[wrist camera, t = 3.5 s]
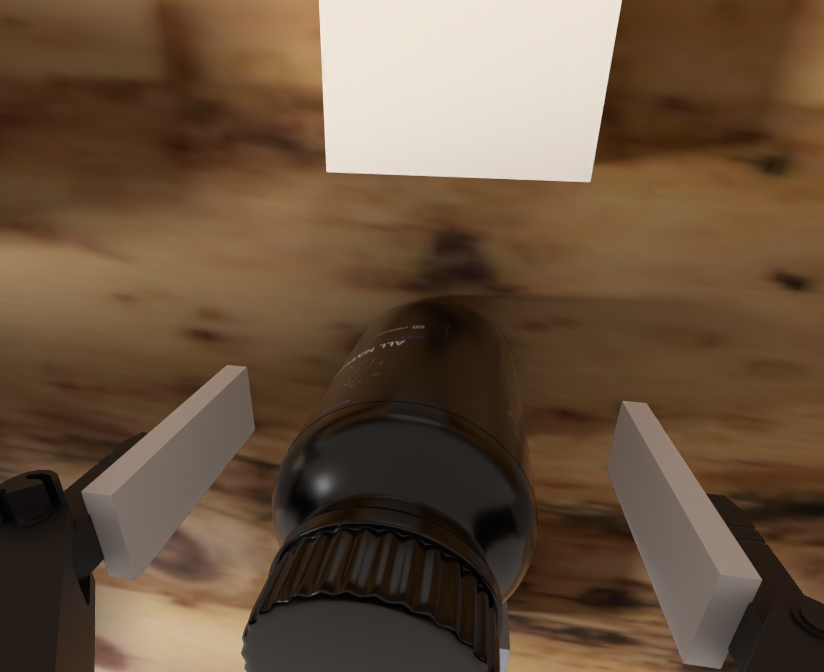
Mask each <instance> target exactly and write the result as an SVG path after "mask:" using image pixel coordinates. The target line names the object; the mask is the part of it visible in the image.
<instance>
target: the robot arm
mask: <svg viewBox="0 0 824 672" xmlns="http://www.w3.org/2000/svg"><path fill="white" fill-rule="evenodd" d="M254 431H255V425H254V418H253V410H252V402H251V395H250V387H249V379H248V371H247V367H244V366H233V365H226V366H225V367H224V368H223V369H222V370H221V371H220V372H218V373H217V374H216V375H215V376H214V377H213V378H211V379H210V380H209V381H208V382H207V383H206V384H205V385H203V386H202V387H201V388H200V389H199V390H198V391H196V392H195V393H194V394H193V395H192V396H191V397H190V398H188V399H187V400H186V401H185V402H184V403H183V404H181V405H180V406H179V407H178V408H177V409H176V410H175V411H173V412H172V413H171V414H170V415H169V416H168V417H166V418H165V419H164V420H163V421H162V422H161V423H160V424H158V425H157V426H156V427H155V428H154V429H153V430H151V431H150V432H149V433H145V432H142V433H140V434H138V435H136V436H134V437H132V438H130V439H128V440H126V441H124V442H123V443H122V444H120V445H119V446H118V447H117V448H116V449H114V450H113V451H112V452H111V453H110V455H107V456H106V457H105V458H104V459H102V460H101V461H100V462H99V464H98V465H95V466H94V467H93V468H92V469H90V470H89V471H88V472H87V473H86V474H84V475H83V476H82V477H81V478H80V479H78V480H77V481H76V482H75V483H74V484H72V485H71V486H70V487H69V488H68V489H66V490H65V491H63V489H62V486H61V483H60V480H59V477H58V474H57V473H55V472H53V471H51V470H37V471H31V472H26V473H24V474H21V475H18V476H15V477H13V478H11V479H9V480H7V481H5V482H3V483H1V484H0V672H94V658H95V580H94V577H93V574H92V571H93V570H94V569H95V568H96V567H97V566H98V565H99V564H100V563H101V561H102V560H103V559H104V562H105V565H106V568H107V571H108V574H109V576H112V577H118V578H125V579H132V580H137V579H138V578H139V577H140V575H141V574H142V573H143V571H144V570H145V569H146V568H147V566H148V565H149V564H150V563H151V561H152V560H153V559H154V558H155V556H156V555H157V554H158V552H159V551H160V550H161V549H162V547H163V546H164V545H165V544H166V542H167V541H168V540H169V539H170V537H171V536H172V535H173V533H174V532H175V531H176V530H177V528H178V527H179V526H180V525H181V523H182V522H183V521H184V519H185V518H186V517H187V516H188V514H189V513H190V512H191V511H192V509H193V508H194V507H195V506H196V504H197V503H198V502H199V500H200V499H201V498H202V497H203V495H204V494H205V493H206V492H207V490H208V489H209V488H210V487H211V485H212V484H213V483H214V481H215V480H216V479H217V478H218V476H219V475H220V474H221V473H222V471H223V470H224V469H225V468H226V466H227V465H228V464H229V462H230V461H231V460H232V459H233V457H234V456H235V455H236V454H237V452H238V451H239V450H240V449H241V447H242V446H243V445H244V443H245V442H246V441H247V440H248V438H249V437H250V436H251V435H252V433H253V432H254ZM606 469H607V472H608V475H609V477H610V480H611V482H612V485H613V487H614V490H615V492H616V495H617V497H618V500H619V502H620V505H621V507H622V510H623V512H624V515H625V517H626V520H627V522H628V525H629V527H630V530H631V532H632V535H633V538H634V540H635V543H636V545H637V548H638V550H639V553H640V555H641V558H642V560H643V563H644V565H645V568H646V570H647V573H648V575H649V578H650V580H651V583H652V585H653V588H654V590H655V593H656V596H657V598H658V601H659V603H660V606H661V608H662V611H663V613H664V616H665V618H666V621H667V623H668V626H669V628H670V631H671V633H672V636H673V638H674V641H675V643H676V646H677V648H678V651H679V653H680V656H681V659H682V661H683V663H684V664H691V665H697V666H704V667H710V668H717V669H721V667H722V665H723V663H724V660H725V658H726V656H727V654H728V652H730V654H731V656H732V658H733V660H734V662H735V664H736V666H737V668H738V670H739V672H824V604H822V603H821V602H818V601H816V600H814V599H812V598H809V597H807V596H804V594H803V593H802V591H801V590H800V589H799V587H798V586H797V585H796V583H795V582H794V580H793V579H792V578H791V576H790V575H789V574H788V572H787V571H786V569H785V568H784V567H783V565H782V564H781V563H780V561H779V560H778V558H777V557H776V556H775V554H774V553H773V551H772V550H771V549H770V547H769V546H768V545H766V544H765V540H764V539H763V538H762V536H761V535H760V534H759V532H758V531H755V527H754V525H753V524H752V523H751V521H750V520H749V518H748V517H747V516H746V514H745V513H744V512H743V511H742V510H741V509H740V508H739V507H738V506H736V505H735V504H734V503H733V502H731V501H730V500H729V499H728V498H727V497H725V496H723V495H714V494H706V493H705V492H704V490H703V489H702V487H701V486H700V484H699V483H698V481H697V480H696V478H695V476H694V475H693V473H692V472H691V470H690V469H689V467H688V466H687V464H686V463H685V461H684V460H683V458H682V457H681V455H680V454H679V452H678V451H677V449H676V447H675V446H674V444H673V443H672V441H671V440H670V438H669V437H668V435H667V434H666V432H665V431H664V429H663V428H662V426H661V425H660V423H659V422H658V420H657V418H656V417H655V415H654V414H653V412H652V411H651V409H650V408H649V406H648V405H647V403H641V402H630V401H622V403H621V407H620V411H619V416H618V420H617V424H616V428H615V432H614V436H613V440H612V444H611V448H610V452H609V457H608V461H607V465H606Z"/></svg>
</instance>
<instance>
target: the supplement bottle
mask: <svg viewBox="0 0 824 672" xmlns="http://www.w3.org/2000/svg"><path fill="white" fill-rule="evenodd" d="M272 515H273V524H274V529H275V534H276V538H277V541H278V544H279V547H280V548H279V550H278V552H277V554H276V556H275V558H274V560H273V562H272V565H271V567H270V570H269V575H268V579H267V581H266V583H265V585H264V587H263V589H262V591H261V593H260V595H259V597H258V599H257V601H256V603H255V606H254V608H253V610H252V612H251V614H250V618H249V620H248V623H247V625H246V627H245V630H244V633H243V637H242V639H243V643H244V645H243V648H242V652H241V654H242V656H243V658H244V659H245V661H246V663H245V670H246V671H247V672H500V641H501V637H502V632H503V609H502V604H503V603H504V602H505V601H506V600H507V599H508V598H509V597H510V596H511V595H512V594H513V593H514V592H515V590H516V589H517V587H518V586H519V585H520V583H521V582H522V580H523V578H524V577H525V575H526V573H527V571H528V569H529V567H530V564H531V561H532V559H533V556H534V552H535V548H536V543H537V534H538V529H537V508H536V500H535V493H534V486H533V478H532V471H531V464H530V457H529V450H528V443H527V435H526V428H525V421H524V414H523V407H522V400H521V392H520V385H519V379H518V374H517V368H516V364H515V360H514V357H513V354H512V352H511V349H510V347H509V345H508V344H507V342H506V340H505V339H504V337H503V336H502V335H501V333H500V332H499V331H498V330H497V329H496V328H495V327H494V326H493V325H492V324H491V323H490V322H489V321H488V320H486V319H485V318H484V317H482V316H481V315H479V314H478V313H476V312H474V311H472V310H470V309H468V308H466V307H463V306H461V305H458V304H454V303H450V302H445V301H437V300H425V301H416V302H411V303H407V304H403V305H400V306H398V307H395V308H393V309H391V310H389V311H387V312H386V313H384V314H383V315H381V316H380V317H379V318H377V319H376V320H375V321H374V322H373V323H372V324H371V325H370V326H369V327H368V328H367V329H366V331H365V332H364V333H363V334H362V336H361V337H360V339H359V340H358V342H357V343H356V345H355V346H354V348H353V349H352V351H351V353H350V354H349V356H348V357H347V359H346V360H345V362H344V363H343V365H342V367H341V368H340V370H339V371H338V373H337V374H336V376H335V378H334V379H333V381H332V382H331V384H330V385H329V387H328V389H327V390H326V392H325V393H324V395H323V396H322V398H321V400H320V401H319V403H318V404H317V406H316V407H315V409H314V411H313V412H312V414H311V415H310V417H309V418H308V420H307V422H306V423H305V425H304V426H303V428H302V429H301V431H300V433H299V434H298V436H297V437H296V439H295V440H294V442H293V444H292V445H291V447H290V448H289V450H288V452H287V454H286V456H285V457H284V459H283V461H282V463H281V466H280V468H279V470H278V473H277V476H276V479H275V483H274V488H273V495H272Z"/></svg>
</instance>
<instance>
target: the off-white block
mask: <svg viewBox="0 0 824 672" xmlns="http://www.w3.org/2000/svg"><path fill="white" fill-rule="evenodd" d="M621 3H622V0H319V11H320V34H321V57H322V80H323V103H324V126H325V149H326V172H337V173H363V174H389V175H415V176H441V177H467V178H493V179H519V180H546V181H572V182H591V176H592V170H593V164H594V159H595V153H596V147H597V141H598V136H599V130H600V124H601V118H602V113H603V107H604V101H605V95H606V90H607V84H608V78H609V72H610V67H611V61H612V55H613V49H614V44H615V38H616V32H617V26H618V21H619V15H620V9H621Z"/></svg>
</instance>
